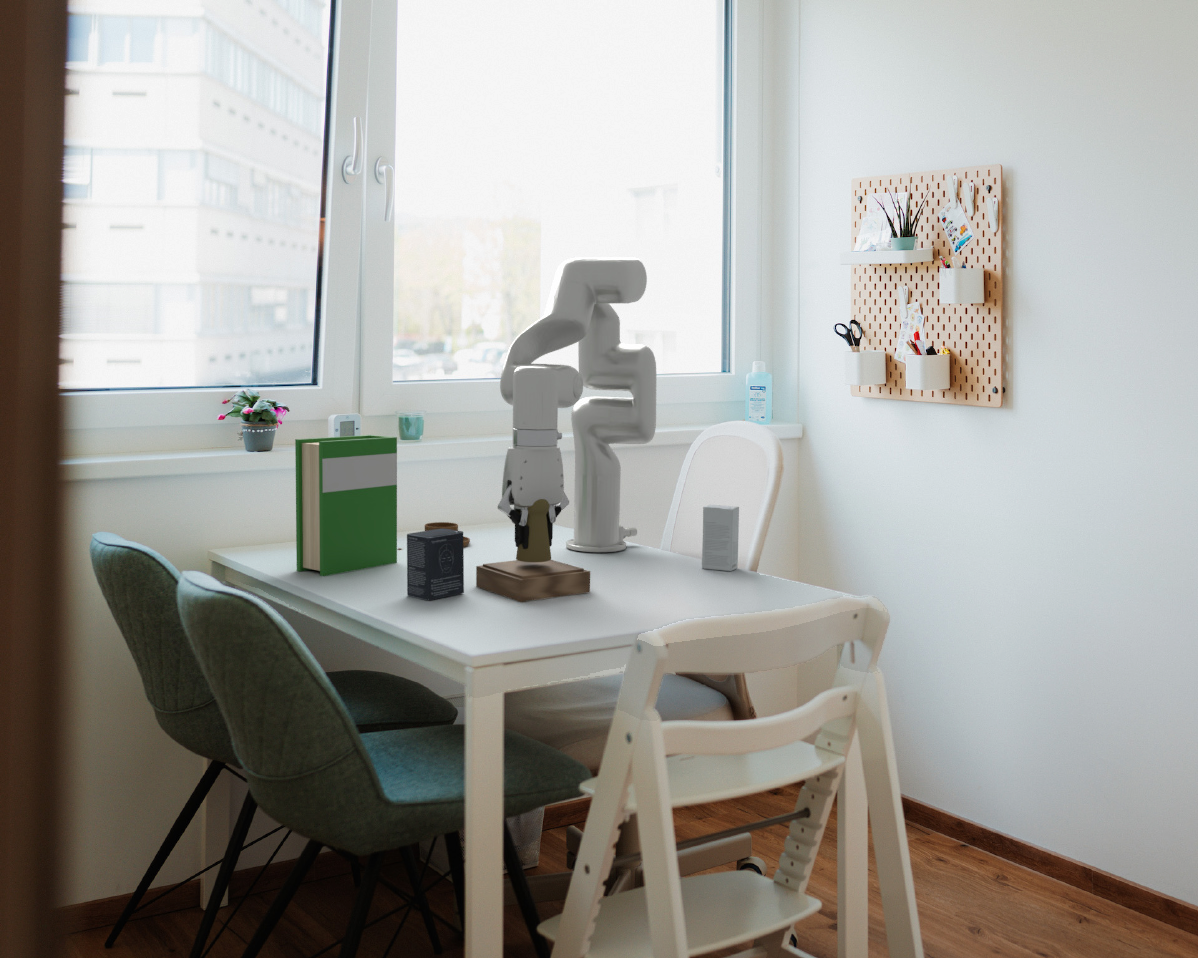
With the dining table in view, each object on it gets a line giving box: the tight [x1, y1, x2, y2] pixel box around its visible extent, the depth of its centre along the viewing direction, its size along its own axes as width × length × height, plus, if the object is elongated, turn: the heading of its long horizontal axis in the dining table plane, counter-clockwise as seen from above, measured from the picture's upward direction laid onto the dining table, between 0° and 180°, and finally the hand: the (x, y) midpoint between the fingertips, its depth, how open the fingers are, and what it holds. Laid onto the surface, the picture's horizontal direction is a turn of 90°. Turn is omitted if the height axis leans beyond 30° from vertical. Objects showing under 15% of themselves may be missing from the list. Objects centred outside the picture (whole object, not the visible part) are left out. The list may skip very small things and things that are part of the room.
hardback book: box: [294, 434, 398, 577], centre depth 201 cm, size 18×7×24 cm, turn 144°
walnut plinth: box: [475, 559, 591, 603], centre depth 185 cm, size 14×14×4 cm
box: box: [406, 529, 465, 601], centre depth 179 cm, size 8×6×11 cm
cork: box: [515, 499, 552, 562], centre depth 184 cm, size 6×6×11 cm
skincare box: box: [701, 504, 740, 572], centre depth 207 cm, size 6×4×12 cm
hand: (533, 545), depth 184 cm, fingers closed on cork, 4 cm apart
